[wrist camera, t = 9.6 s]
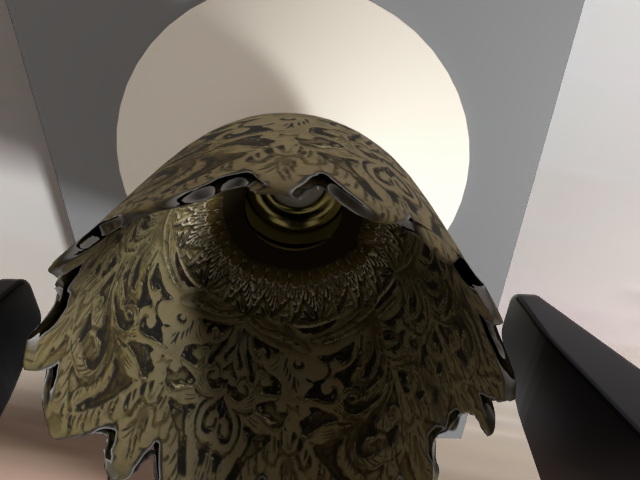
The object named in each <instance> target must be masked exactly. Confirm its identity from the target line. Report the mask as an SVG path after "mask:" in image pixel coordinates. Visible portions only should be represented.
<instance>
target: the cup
mask: <svg viewBox="0 0 640 480" xmlns="http://www.w3.org/2000/svg"><path fill="white" fill-rule="evenodd" d="M316 186H317V189H319V188H318V186H320V187H322V188H324V192H323V194H322V195H321V197H320V198H319V199H318V200H317V201H316V202H314V203H313V204H311V205H308V206H304V207H292V206H288V205H285V204H283V203H282V202H280V201H279V200H277V199H276V198H275V197H274V195H281V196H286V197H291V198H295V199H299V200H302V199H301V197H303V196H304V195H305V194H306V193H307V192H308V191H309V190H311V189H314V188H315V187H316ZM48 271H49V272H50V273H51V274H53V275H55V276H56V277H57V278H58V280H57V281H56V284H55V286H56V287H55V288H54V289H55V290H56V292H57V295H56V301H55V304H54V305H53V307H52V308H51V310H50V311H49V313H48V314H47V316H46V317H45V319H44V320H43V321H42V323H41V324H40V325H39V326H38V327H37V328H36V329H34V330H33V331H32V332H31V333H30V335H29V337H28V339H27V342H26V347H25V353H24V359H23V367H24V370H29V371H43V370H46V377H45V380H44V384H43V388H42V404H43V410H44V416H45V419H46V422H47V425H48V429H49V434H50V435H51V436H52V438H54V439H57V440H62V439H68V438H74V437H79V436H85V435H90V434H93V433H99V434H102V435H105V436H108V434H109V438H107V440H106V442H108V445H107V447H106V450H105V449H103V450H104V458H105V465H104V468H105V470H106V472H107V476H108V480H125V479H128V478H129V477H130V476H131V475H132V473H134V472H135V471H137V470H138V469H139V467H140V465H141V464H142V463H143V462H144V461H146V460H147V459H148V458H149V456H150V455H154V476H155V480H438V476H439V467H438V464H437V462H436V455H435V454H436V445H435V443H436V442H435V438H437V437H438V436H439V435H440V434H442V433H443V432H444V433H446V432H447V431H455V430H456V429H457V427H458V424H459V421H460V417H461V416H462V415H465V414H467V413H469V414H470V415H472V416H473V415H475V417H476V419H477V420H478V421H479V424H480V427H481V428H482V430H483V431H484V433H485V434H486V435H487V436H490V435H491V434H493V432H494V428H495V412H494V407H493V403H492V401H497V402H502V401H507V400H508V401H512V400H514V399H515V398H516V379H515V375H514V370H513V367H512V364H511V362H510V359H509V356H508V354H507V351H506V349H505V347H504V344H503V342H502V340H501V338H500V335H499V333H498V330H497V327H496V325H500V324H502V323H503V320H502V318H501V316H500V313H499V311H498V309H497V307H496V305H495V303H494V301H493V299H492V297H491V295H490V293H489V292H488V290H487V288H486V287H485V285H484V284H483V283H482V282H481V281H480V279H479V278H478V277H477V276H476V275H475V273H474V272H473V271H472V269H471V268H470V266H469V264H468V263H467V261H466V260H465V258H464V256H463V255H462V253H461V252H460V250H459V248H458V247H457V245H456V244H455V242H454V240H453V239H452V237H451V236H450V234H449V232H448V231H447V229H446V228H445V226H444V224H443V223H442V221H441V220H440V218H439V217H438V215H437V214H436V212H435V210H434V209H433V207H432V206H431V204H430V203H429V201H428V200H427V198H426V197H425V196H424V194H423V193H422V192H421V190H420V189H419V187H418V186H417V185H416V183H415V182H414V181H413V179H412V178H411V176H410V175H409V174H408V173H407V172H406V171H405V170H404V169H403V168H402V167H401V165H400V164H399V163H398V162H397V161H396V160H395V159H394V158H393V157H392V156H391V155H390V154H389V153H387V152H386V151H385V150H384V149H383V148H381V147H380V146H379V145H378V144H376V143H375V142H373V141H372V140H370V139H369V138H367V137H366V136H364V135H363V134H361V133H360V132H358V131H356V130H354V129H352V128H350V127H348V126H346V125H343V124H340V123H338V122H335V121H332V120H330V119H326V118H322V117H318V116H314V115H307V114H299V113H271V114H262V115H257V116H251V117H247V118H244V119H240V120H237V121H234V122H231V123H228V124H225V125H223V126H221V127H219V128H217V129H214V130H212V131H210V132H208V133H207V134H205V135H203V136H202V137H200V138H198V139H197V140H195V141H194V142H192V143H190V144H189V145H187V146H186V147H184V148H183V149H182V150H181V151H179V152H178V153H177V154H176V155H174V156H173V157H172V158H171V159H169V160H168V161H167V162H166V163H164V164H163V165H162V166H161V167H160V168H158V169H157V170H156V171H155V172H154V173H153V174H152V175H151V176H149V177H148V178H147V179H146V180H145V181H144V182H143V183H142V184H141V185H139V186H138V187H137V188H136V189H135V190H134V191H133V192H132V193H131V194H130V195H128V196H127V197H126V198H125V199H124V200H123V201H122V202H121V203H120V204H119V205H118V206H117V207H115V208H114V209H113V210H112V211H111V212H110V213H109V214H108V215H107V216H106V217H105V218H104V219H103V220H101V221H100V222H99V223H98V224H97V225H96V226H95V227H94V228H93V229H92V230H90V231H89V232H88V233H87V234H86V235H85V236H83V237H82V238H81V239H80V240H78V241H77V242H76V243H75V244H73V245H72V246H71V247H70V248H69V249H68V250H66V251H65V252H64V253H63V254H62V255H61V256H60V257H58V258H57V259H56V260H55V261H54V262H53V264H52V265H51V266H50V267H49V269H48ZM59 276H60V277H59ZM460 414H462V415H460ZM459 415H460V416H459ZM443 429H445V430H443ZM107 432H108V433H107ZM152 446H154V450H150V451H148V450H149V449H150V448H151V447H152ZM147 451H148V452H147ZM146 452H147V453H146ZM145 453H146V454H145ZM144 454H145V455H144ZM143 455H144V456H143Z"/></svg>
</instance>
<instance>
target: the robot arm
mask: <svg viewBox="0 0 640 480" xmlns="http://www.w3.org/2000/svg"><path fill="white" fill-rule="evenodd" d="M40 322H41V313H40V310H39V307H38V305H37V302H36V299H35V296H34V294H33V291H32V288H31V286H30V284H29V283H28V282H27V281H26V280H23V279H1V280H0V416H1V414H2V413H3V411H4V409H5V407H6V405H7V403H8V401H9V399H10V397H11V395H12V392H13V390H14V388H15V386H16V383H17V381H18V378H19V376H20V373H21V371H22V368H23V359H24V353H25V347H26V342H27V339H28V337H29V335H30V333H31V332H32V331H33V330H34V329H36V328H37V327H38V326H39V325H40ZM502 341H503V344H504V347H505V349H506V351H507V354H508V356H509V359H510V362H511V364H512V367H513V370H514V375H515V379H516V398H515V401H516V405H517V409H518V413H519V416H520V420H521V423H522V426H523V429H524V432H525V435H526V438H527V441H528V444H529V447H530V450H531V452H532V455H533V458H534V461H535V464H536V467H537V470H538V473H539V476H540V479H541V480H640V369H639V368H638V367H636V366H635V365H633V364H632V363H631V362H629V361H628V360H626V359H625V358H624V357H622V356H621V355H620V354H618V353H617V352H615V351H614V350H613V349H611V348H610V347H608V346H607V345H606V344H604V343H603V342H601V341H600V340H599V339H597V338H596V337H595V336H593V335H592V334H590V333H589V332H588V331H586V330H585V329H583V328H582V327H581V326H579V325H578V324H576V323H575V322H574V321H572V320H571V319H570V318H568V317H567V316H565V315H564V314H563V313H561V312H560V311H558V310H557V309H556V308H554V307H553V306H551V305H550V304H549V303H547V302H546V301H545V300H543V299H542V298H540V297H539V296H537V295H530V294H516V295H514V296H513V297H512V298H511V300H510V303H509V307H508V310H507V313H506V317H505V320H504V323H503V327H502Z"/></svg>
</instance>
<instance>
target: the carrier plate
mask: <svg viewBox="0 0 640 480" xmlns="http://www.w3.org/2000/svg"><path fill="white" fill-rule="evenodd" d="M584 1H585V0H6V3H7V6H8V10H9V13H10V17H11V20H12V24H13V27H14V31H15V34H16V38H17V41H18V45H19V48H20V51H21V55H22V58H23V62H24V65H25V69H26V72H27V76H28V79H29V83H30V86H31V90H32V93H33V97H34V100H35V103H36V107H37V110H38V114H39V117H40V121H41V124H42V128H43V131H44V135H45V138H46V142H47V145H48V149H49V152H50V155H51V159H52V162H53V166H54V169H55V173H56V176H57V180H58V183H59V187H60V190H61V194H62V197H63V200H64V204H65V207H66V211H67V214H68V218H69V221H70V225H71V228H72V232H73V235H74V239H75V242H77V241H78V240H80V239H81V238H82V237H83V236H85V235H86V234H87V233H88V232H89V231H90V230H92V229H93V228H94V227H95V226H96V225H97V224H98V223H99V222H100V221H101V220H103V219H104V218H105V217H106V216H107V215H108V214H109V213H110V212H111V211H112V210H113V209H114V208H115V207H117V206H118V205H119V204H120V203H121V202H122V201H123V200H124V199H125V198H126V197H127V196H128V195H130V194H131V193H132V192H133V191H134V190H135V189H136V188H137V187H138V186H139V185H141V184H142V183H143V182H144V181H145V180H146V179H147V178H148V177H149V176H151V175H152V174H153V173H154V172H155V171H156V170H157V169H158V168H160V167H161V166H162V165H163V164H164V163H166V162H167V161H168V160H169V159H171V158H172V157H173V156H174V155H176V154H177V153H178V152H179V151H181V150H182V149H183V148H184V147H186V146H187V145H189V144H190V143H192V142H194V141H195V140H197V139H198V138H200V137H202V136H203V135H205V134H207V133H208V132H210V131H212V130H214V129H217V128H219V127H221V126H223V125H225V124H228V123H231V122H234V121H237V120H240V119H244V118H247V117H251V116H257V115H262V114H271V113H299V114H307V115H314V116H318V117H322V118H326V119H330V120H332V121H335V122H338V123H340V124H343V125H346V126H348V127H350V128H352V129H354V130H356V131H358V132H360V133H361V134H363V135H364V136H366V137H367V138H369V139H370V140H372V141H373V142H375V143H376V144H378V145H379V146H380V147H381V148H383V149H384V150H385V151H386V152H387V153H389V154H390V155H391V156H392V157H393V158H394V159H395V160H396V161H397V162H398V163H399V164H400V165H401V167H402V168H403V169H404V170H405V171H406V172H407V173H408V174H409V175H410V176H411V178H412V179H413V181H414V182H415V183H416V185H417V186H418V187H419V189H420V190H421V192H422V193H423V194H424V196H425V197H426V198H427V200H428V201H429V203H430V204H431V206H432V207H433V209H434V210H435V212H436V214H437V215H438V217H439V218H440V220H441V221H442V223H443V224H444V226H445V228H446V229H447V231H448V232H449V234H450V236H451V237H452V239H453V240H454V242H455V244H456V245H457V247H458V248H459V250H460V252H461V253H462V255H463V256H464V258H465V260H466V261H467V263H468V264H469V266H470V268H471V269H472V271H473V272H474V273H475V275H476V276H477V277H478V278H479V279H480V281H481V282H482V283H483V284H484V285H485V287H486V288H487V290H488V292H489V293H490V295H491V297H492V299H493V301H494V303H495V305H496V307H497V309H498V306H499V302H500V299H501V295H502V292H503V288H504V285H505V281H506V278H507V274H508V271H509V267H510V263H511V260H512V256H513V253H514V249H515V246H516V242H517V239H518V235H519V232H520V228H521V224H522V221H523V217H524V214H525V210H526V207H527V203H528V200H529V196H530V193H531V189H532V185H533V182H534V178H535V175H536V171H537V168H538V164H539V161H540V157H541V154H542V150H543V146H544V143H545V139H546V136H547V132H548V129H549V125H550V122H551V118H552V115H553V111H554V108H555V104H556V100H557V97H558V93H559V90H560V86H561V83H562V79H563V76H564V72H565V69H566V65H567V61H568V58H569V54H570V51H571V47H572V44H573V40H574V37H575V33H576V30H577V26H578V22H579V19H580V15H581V12H582V8H583V5H584ZM318 188H319V189H317V186H316V187H315V188H314V189H311V190H309V191H308V192H307V193H306V194H305V195H304V196H303V197H301V199H302V200H299V199H295V198H291V197H286V196H281V195H274V197H275V198H276V199H277V200H279V201H280V202H282V203H283V204H285V205H288V206H292V207H304V206H308V205H311V204H313V203H314V202H316V201H317V200H318V199H319V198H320V197H321V195H322V194H323V192H324V188H322V187H320V186H318ZM460 415H462V414H460ZM460 415H459V416H460ZM467 416H468V413H467V414H465V415H462V416H461V417H460V421H459V424H458V427H457V429H456V430H455V431H447V432H446V433H444V432H443V433H442V434H440V435H439V436H438V437H437V438H459V439H461V437H462V434H463V430H464V426H465V423H466V419H467ZM443 430H445V429H443Z"/></svg>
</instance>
